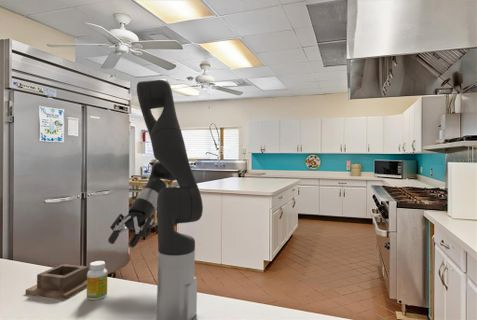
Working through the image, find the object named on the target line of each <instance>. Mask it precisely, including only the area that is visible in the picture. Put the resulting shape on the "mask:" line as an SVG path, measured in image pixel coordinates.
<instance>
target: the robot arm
mask: <svg viewBox="0 0 477 320" xmlns="http://www.w3.org/2000/svg"><path fill="white" fill-rule="evenodd" d="M171 87H172V86H171V84H170V83H169V81H168V80H166V79H165V78H163V79H162V78H159V79H157V78H156V79H151V80H150V79H149V80H141V81H138V82H137V84H136V95H137V100H138V103H139V108H140V110H141V111H140V112H141V114H142V118H143V120H144V124H145V126H146V129H147V131H148V134H149V139H150V143H151V148H152V151H153V152H152V153H153V157H154V158H155V160H157V161H156V162H155V163H154V164H153V165H152V169H151V172H150V175H149V179H148V181H147V183H146V184H145V186H144V187H143V189H142V190H140V191H141V192H139V193H138V195H137V196H136V198H135V199H134V201H133V203H132V204H131V206H130V207H129V210H128V211H129V212H128V214H126V215H123V214H122V213H119V215H118V216H117V217H116V219H115V220H114V221H113V223H112V224H111V225H110V229H111V231H112V233H111V234H110V236H109V237H108V239H107V240H108V243H109V244H110V245H113V244H115V243H116V241H117V240H118V238H119V236H120V234H122V233H123V232H127V231H128V230H133V231H135V233H134V234H133V236H132V237H131V239H130V240H129V242H128V246H129V247H130V248H135V247H136V246H137V244H138V243H139V241H140V239H141V238H143V237H144V238H145V237H148V236H149V234H150V232H151V229H153V226H154V223H155V221H154V219H152V217H151V216H152V215H153V214H154V212H155V210H156V212H157V246H158V247H157V282H156V283H157V287H156V293H157V296H156V320H193V319H194V318H193V317H195V316H196V315H197V313H198V312H197V310H198V309H197V305H198V304H197V303H198V302H197V301H198V277H197V276H195V268H196V267H195V266H196V265H195V263H196V262H195V261H196V253H195V252H196V239H195V238H194V237H192V236H191V235H189V234H184V233H181V232H178V231H177V230H175V224H177V225H178V224H187V223H189V224H190V223H194V222H198V221H199V220H200V219H201V218H202V216H203V212H204V211H203V208H204V207H203V200H202V195H201V192H200V189H199V186H198V184H197V181H196V178H195V175H194V173H193V171H192V168H191V164H190V162H189V157H188V154H187V149H186V148H187V147H186V144H185V141H184V137H183V133H182V129H181V127H180V123H179V120H178V117H177V114H176V106H175V102H174V96H173V91H172V90H173V89H172V88H171ZM161 108H162V111H161V113H160V115H159V117H158V119H157V120H156V118H155V117H154V115H153V113H152V110H153V109H155V110H156V109H161ZM164 180H165V181H166V180H167V181H171V182H173V181H174V182H175V181H176V182H177V184H178V186H175V187H174V186H173V187H172V186H171V187H167V184H166V183H165V181H164ZM192 318H193V319H192Z"/></svg>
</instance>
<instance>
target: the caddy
mask: <svg viewBox="0 0 477 320" xmlns="http://www.w3.org/2000/svg"><path fill="white" fill-rule="evenodd" d="M88 272H89V266H85V265H78V264H77V265H76V264H67V263H62V264H60V265H59V264H58V265H57V266H55V267H52V268H49V269H48V270H47V269H46V270H45V271H43V272H40V273H38V274H37V275H36V284H35V285H33V286H31V287H29V288H26V289H25V295H31V296H37V297H38V296H39V297H45V298H53V299H59V300H68V299H70V298H72V297H73V296H75V295H76V294H78V293H80V292H81V291H83V290H85V289H87V273H88Z"/></svg>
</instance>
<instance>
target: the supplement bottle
mask: <svg viewBox="0 0 477 320" xmlns="http://www.w3.org/2000/svg"><path fill="white" fill-rule="evenodd" d="M105 267H106V262H105V261H104V260H96V261H92V262H90V263H89V270H88V273H87V288H86V299H88V300H90V301H97V300H102V299H103V298H106V296H107V294H108V270H107V268H105Z"/></svg>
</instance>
